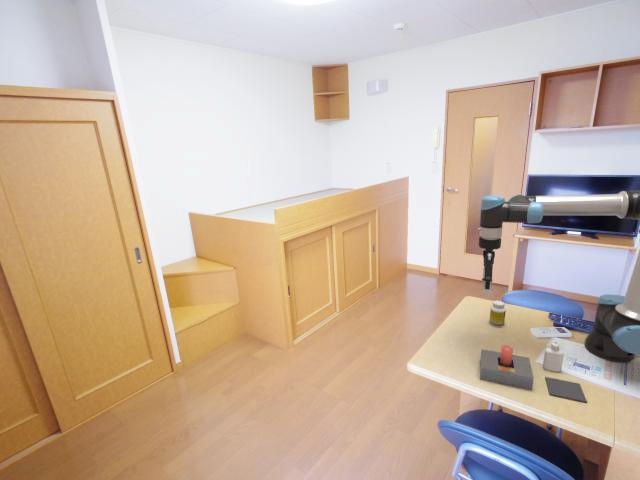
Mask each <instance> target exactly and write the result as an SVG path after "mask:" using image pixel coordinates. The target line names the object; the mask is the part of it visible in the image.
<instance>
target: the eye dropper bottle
mask: <svg viewBox="0 0 640 480" xmlns="http://www.w3.org/2000/svg"><path fill="white" fill-rule="evenodd" d="M560 345H561V344H559V343H558V340H556V339H555V340H554V342H551V345H550V347H548V348H546V349H544V353H543V361H542V368H543V369H544V370H546V371H548V372H553V373H561V372H562V367H563V363H564V356H565V354H564V352H563V351H562V350H561V349H560Z"/></svg>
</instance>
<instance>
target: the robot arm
mask: <svg viewBox="0 0 640 480" xmlns="http://www.w3.org/2000/svg"><path fill="white" fill-rule="evenodd" d="M544 216H616V217H617V218H619V219H628V220H629V219H630V220H635V221H636V220H637V221H640V190H638V189H636V190H622V191H620V192H618V193H613V194H612V193H611V194H610V193H608V194H606V193H605V194H601V193H600V194H568V195H567V194H562V195H556V194H555V195H522V194H515V195H512V196H511V197H510V198H509V199H508V201H506V199H505V197H504V196H503V195H485V196H484V197H483V198H482V199H481V205H480V217H479V219H480V221H479V227H478V228H477V231H479V234H478V236H479V237H478V247H479V248H480V249H484V250H483V252H482V258H483V269H482V270H483V271H482V278H481V281H482V284H483V285H482V297H486V298H491V297H492V296H491V295H492V283H493V267H494V266H493V265H494V263H495V257H496V253H495V252H496V251H494V250H499V249H501V247H502V246H501V245H502V237H503V223H513V224H514V223H516V224H518V223H519V224H529V225H530V224H540V223H541V222H542V220H543V217H544ZM638 234H639V235H640V228H639V230H638ZM583 346H584V347H585V348H586V350H587V351H588V352H590V353H591V354H593V355H595V356H597V357H599V358H601V359H604V360H607V361H611V362H616V363H630V362H633V361H634V360H635V358H636V355H640V249H639V251H638V254H637V257H636V260H635V263H634V266H633V270H632V273H631V276H630V279H629V283H628V285H627V289H626V293H625V295H618V294H602V295H600V296H599V297H598V301H597V307H596V310H595V317H594V321H593V326H592V329H591V331H589V334H588V335H587V336H586V337H585V339H584V344H583Z"/></svg>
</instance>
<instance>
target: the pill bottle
mask: <svg viewBox="0 0 640 480" xmlns="http://www.w3.org/2000/svg"><path fill="white" fill-rule="evenodd" d="M506 312H507V311H506V307H505V302H503V301H501V300H493V301H492V305H491V307H490V309H489V321H488V322H489V324H490V326H493V327H495V328H502V327H504V326H505V322H506Z"/></svg>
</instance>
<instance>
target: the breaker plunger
mask: <svg viewBox="0 0 640 480" xmlns="http://www.w3.org/2000/svg"><path fill="white" fill-rule="evenodd" d="M500 352H501V357H500V364H501V365H502V366H505V367H510V366H511V363H512V355H514V354H513V352H514V348H513V347H512V346H510V345H502V346H501V349H500Z"/></svg>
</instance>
